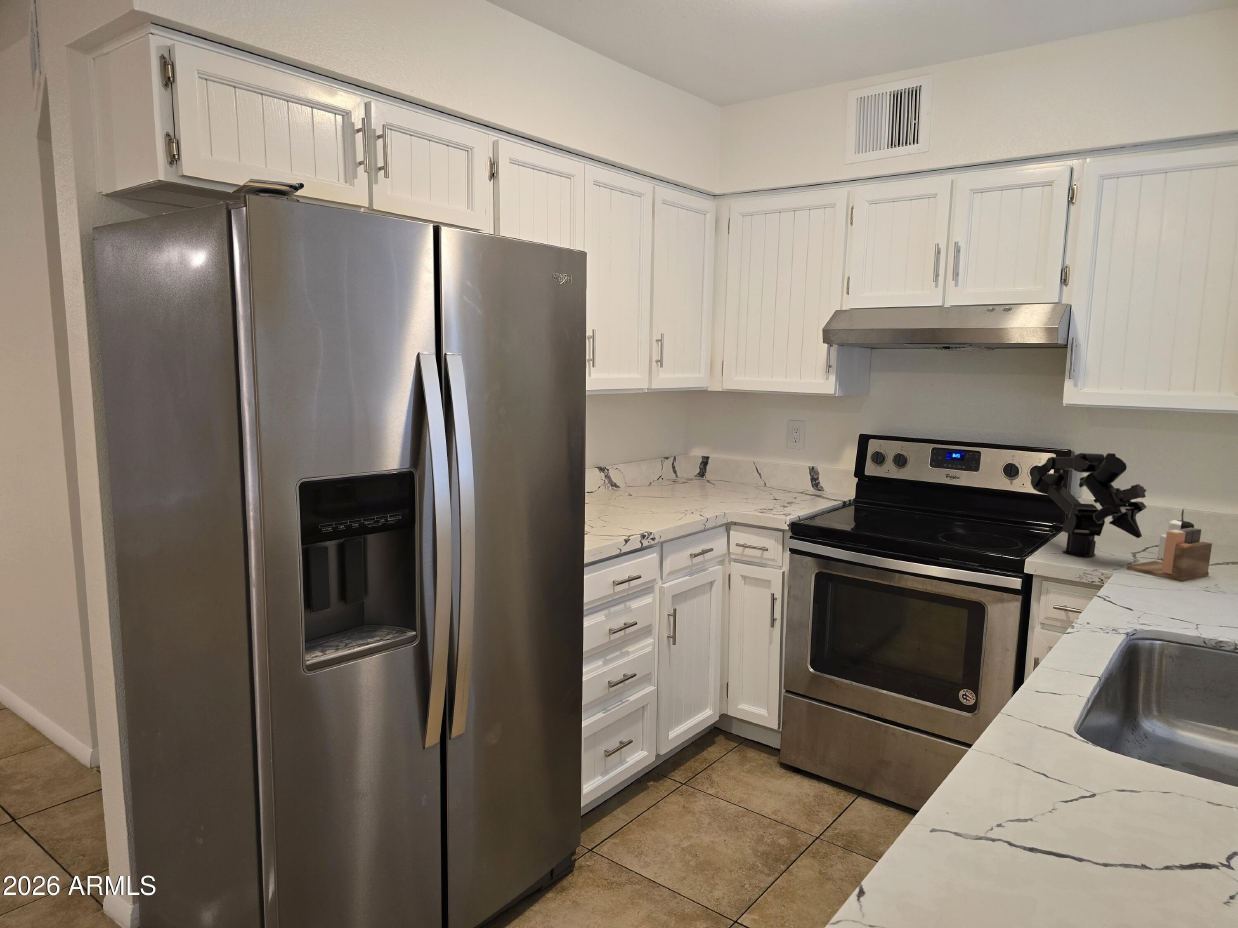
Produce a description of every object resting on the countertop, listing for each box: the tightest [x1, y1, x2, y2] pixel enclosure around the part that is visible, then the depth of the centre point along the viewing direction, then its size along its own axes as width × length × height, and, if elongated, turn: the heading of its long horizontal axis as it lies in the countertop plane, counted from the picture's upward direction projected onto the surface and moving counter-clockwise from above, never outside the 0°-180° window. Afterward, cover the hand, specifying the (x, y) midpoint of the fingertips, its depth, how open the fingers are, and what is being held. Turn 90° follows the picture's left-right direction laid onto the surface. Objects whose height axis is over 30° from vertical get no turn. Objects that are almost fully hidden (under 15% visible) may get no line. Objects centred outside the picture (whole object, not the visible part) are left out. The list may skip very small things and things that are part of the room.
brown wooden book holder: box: [1126, 527, 1213, 583], centre depth 221 cm, size 14×16×12 cm
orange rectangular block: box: [1161, 530, 1186, 574], centre depth 216 cm, size 2×5×11 cm, turn 122°
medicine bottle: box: [1157, 519, 1195, 560], centre depth 236 cm, size 7×7×12 cm
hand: (1139, 537), depth 223 cm, fingers closed
